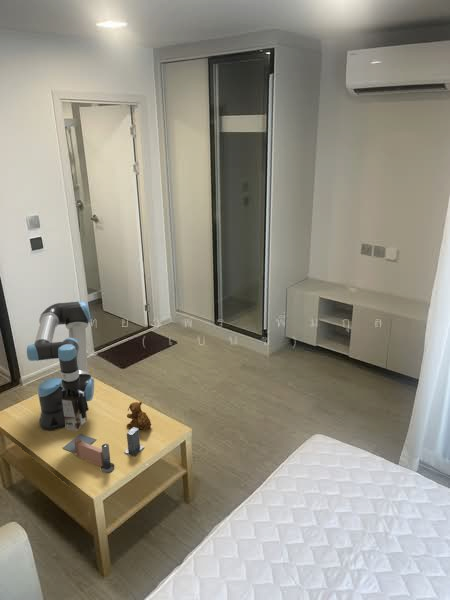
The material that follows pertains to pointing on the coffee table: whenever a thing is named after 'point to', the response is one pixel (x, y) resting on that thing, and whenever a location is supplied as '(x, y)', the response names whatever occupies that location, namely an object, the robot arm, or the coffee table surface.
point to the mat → (84, 438)
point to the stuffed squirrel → (138, 417)
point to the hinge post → (106, 460)
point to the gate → (88, 452)
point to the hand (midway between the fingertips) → (76, 420)
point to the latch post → (133, 442)
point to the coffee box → (72, 413)
